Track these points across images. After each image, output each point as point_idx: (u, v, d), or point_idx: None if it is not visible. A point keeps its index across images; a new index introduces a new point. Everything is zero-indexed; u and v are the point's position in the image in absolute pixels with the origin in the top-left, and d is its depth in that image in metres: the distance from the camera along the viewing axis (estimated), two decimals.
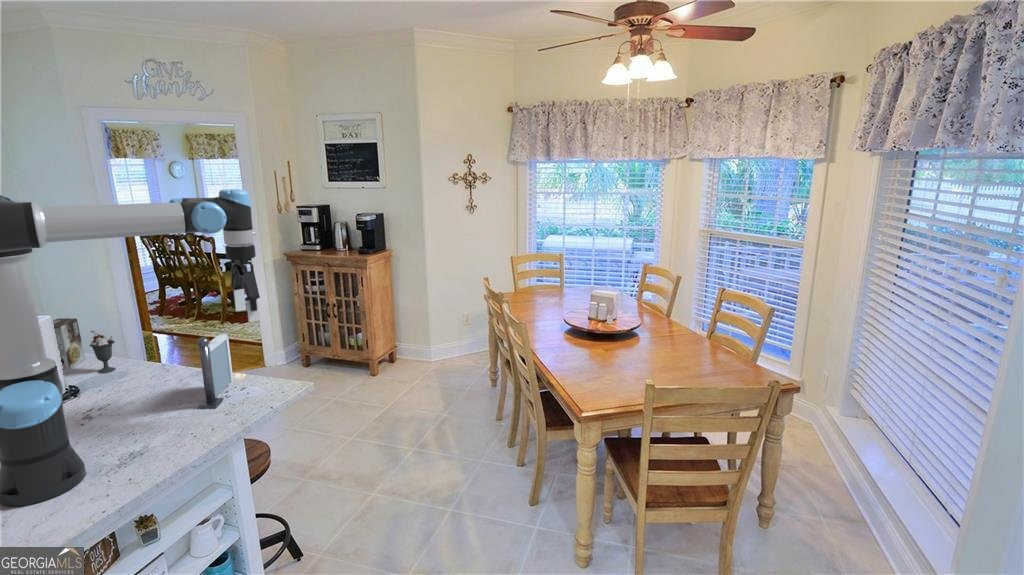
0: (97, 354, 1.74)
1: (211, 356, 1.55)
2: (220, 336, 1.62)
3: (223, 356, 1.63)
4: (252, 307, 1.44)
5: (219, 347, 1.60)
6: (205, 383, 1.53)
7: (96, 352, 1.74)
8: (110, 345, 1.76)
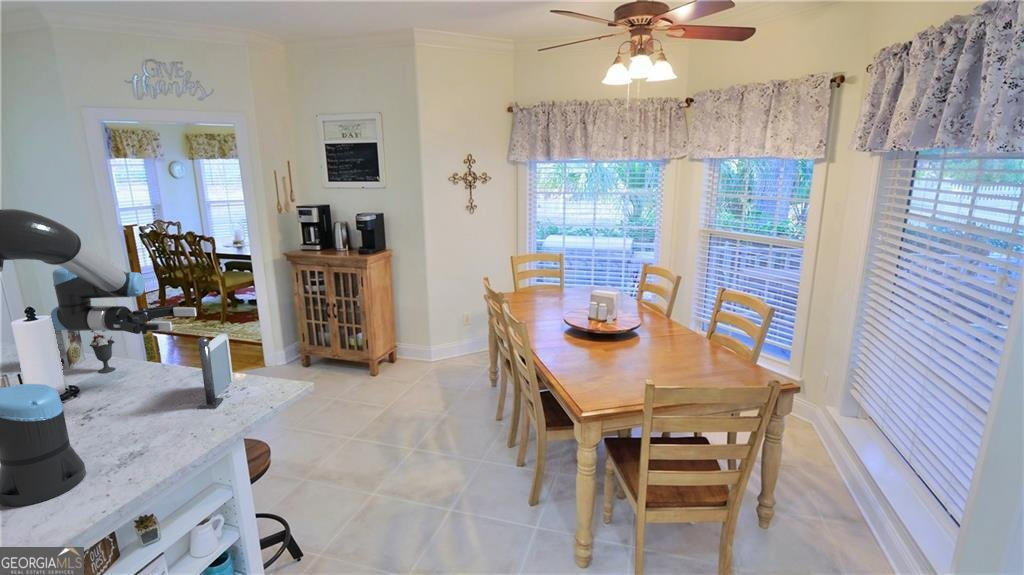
0: (97, 354, 1.74)
1: (211, 356, 1.55)
2: (220, 336, 1.62)
3: (223, 356, 1.63)
4: None
5: (219, 347, 1.60)
6: (205, 383, 1.53)
7: (96, 352, 1.74)
8: (110, 345, 1.76)
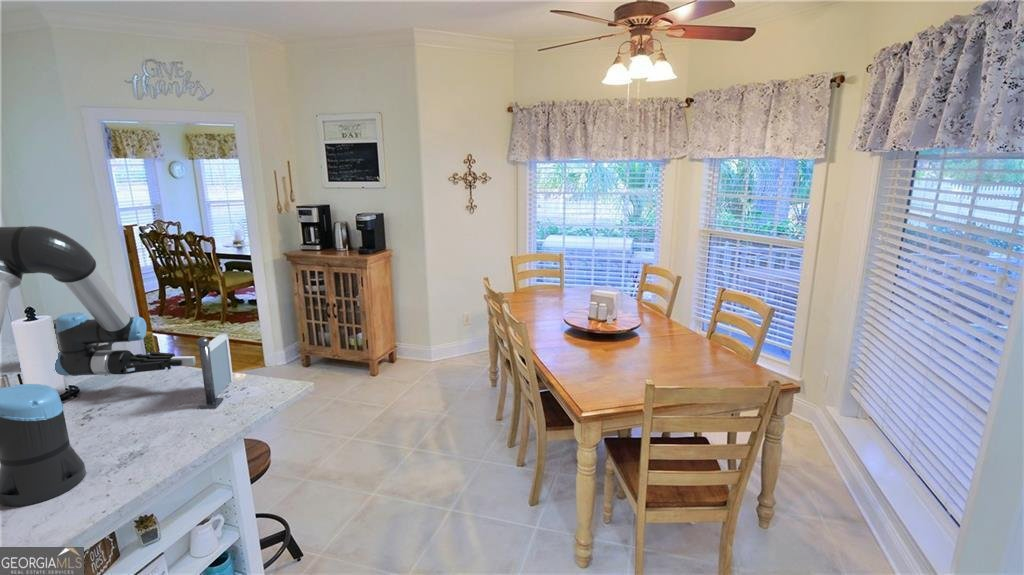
0: None
1: (211, 356, 1.55)
2: (220, 336, 1.62)
3: (223, 356, 1.63)
4: None
5: (219, 347, 1.60)
6: (205, 383, 1.53)
7: None
8: (110, 345, 1.76)
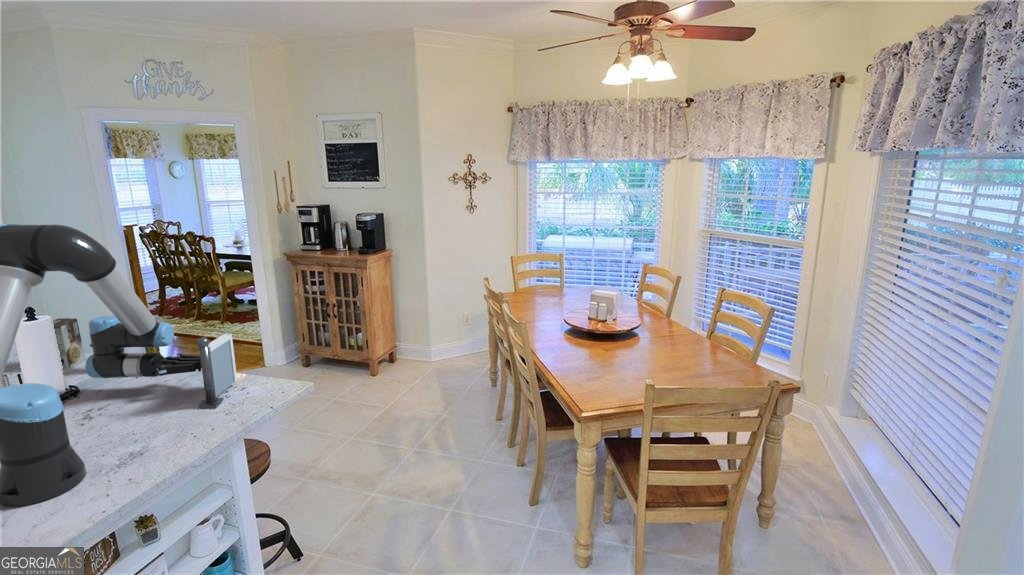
0: None
1: (212, 356, 1.55)
2: (223, 336, 1.62)
3: (226, 356, 1.63)
4: None
5: (221, 347, 1.60)
6: (205, 383, 1.53)
7: None
8: None
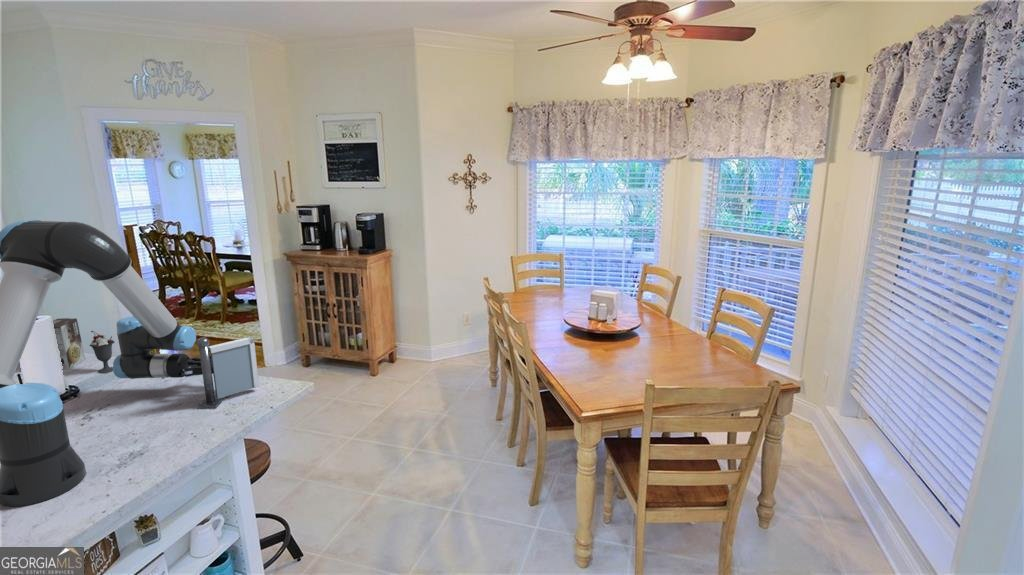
0: (97, 354, 1.74)
1: (215, 357, 1.54)
2: (242, 339, 1.59)
3: (242, 360, 1.60)
4: None
5: (234, 351, 1.58)
6: (205, 383, 1.53)
7: (96, 352, 1.74)
8: (110, 345, 1.76)
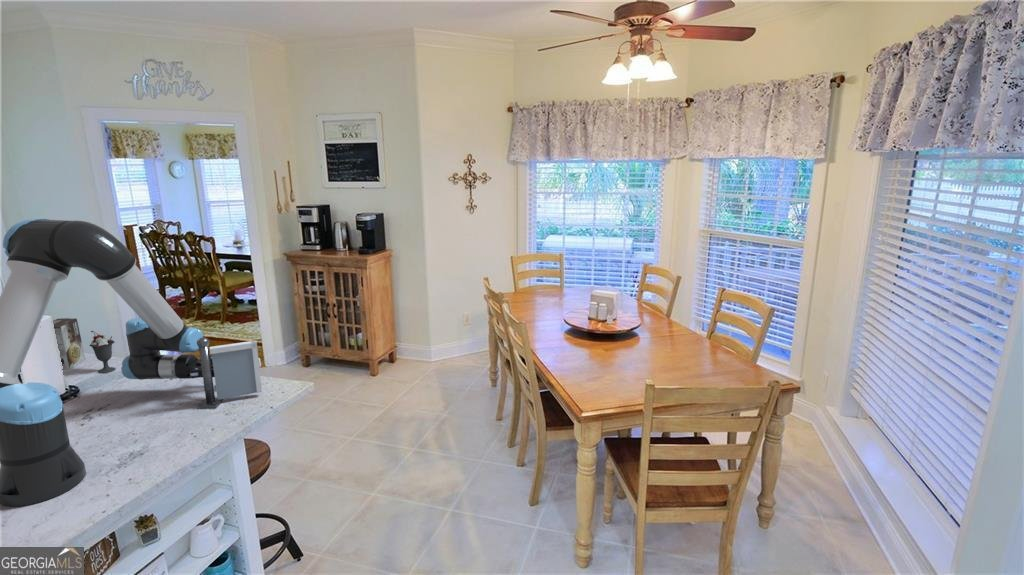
0: (97, 354, 1.74)
1: (215, 359, 1.53)
2: (244, 343, 1.57)
3: (244, 364, 1.57)
4: None
5: (235, 353, 1.56)
6: (205, 383, 1.53)
7: (96, 352, 1.74)
8: (110, 345, 1.76)
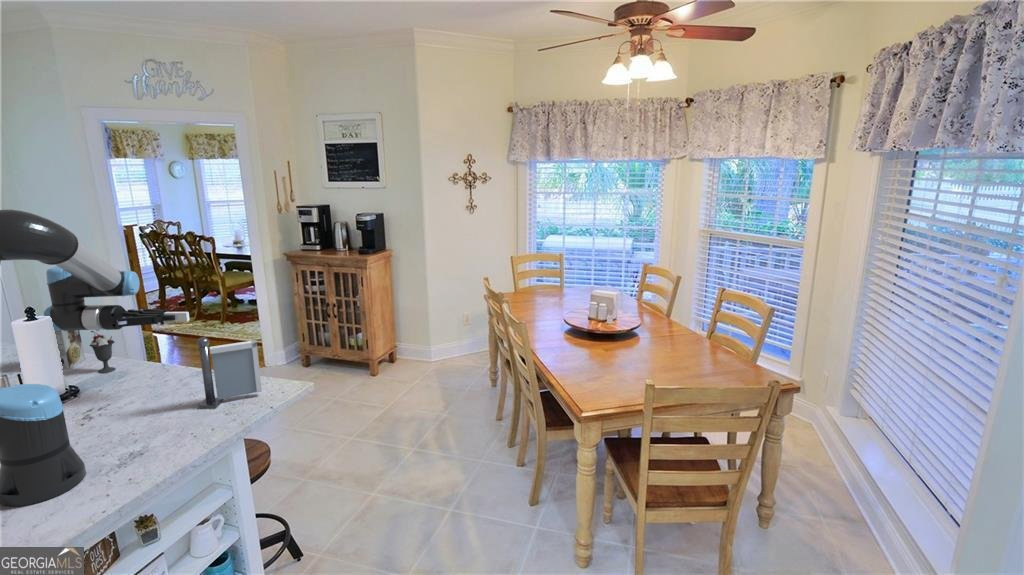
0: (97, 354, 1.74)
1: (215, 358, 1.53)
2: (244, 342, 1.57)
3: (244, 363, 1.58)
4: None
5: (235, 353, 1.56)
6: (205, 383, 1.53)
7: (96, 352, 1.74)
8: (110, 345, 1.76)
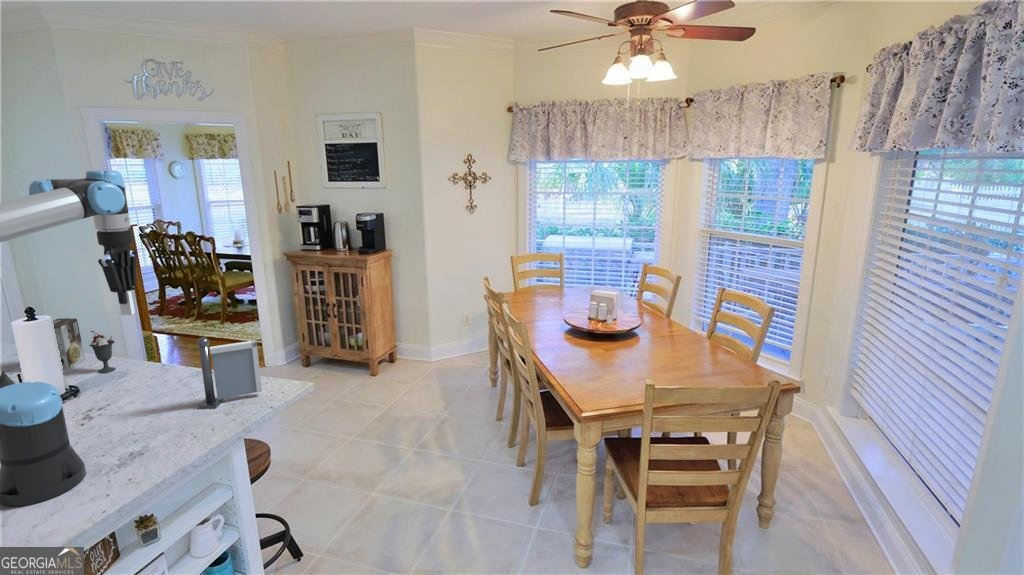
0: (97, 354, 1.74)
1: (215, 358, 1.53)
2: (244, 342, 1.57)
3: (244, 363, 1.58)
4: (119, 300, 1.40)
5: (235, 353, 1.56)
6: (205, 383, 1.53)
7: (96, 352, 1.74)
8: (110, 345, 1.76)
